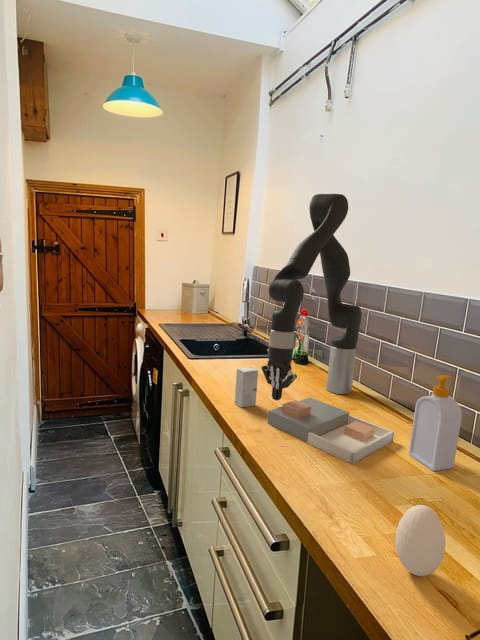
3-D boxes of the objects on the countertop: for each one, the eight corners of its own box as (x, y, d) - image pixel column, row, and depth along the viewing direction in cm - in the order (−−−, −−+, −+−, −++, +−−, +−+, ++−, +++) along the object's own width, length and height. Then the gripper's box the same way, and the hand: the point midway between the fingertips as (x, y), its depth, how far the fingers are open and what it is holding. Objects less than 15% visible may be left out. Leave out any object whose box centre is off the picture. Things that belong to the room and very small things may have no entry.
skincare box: (241, 408, 134) (243, 372, 132) (233, 403, 137) (236, 368, 135) (256, 405, 137) (259, 370, 135) (248, 400, 141) (251, 366, 139)
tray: (349, 424, 126) (350, 415, 126) (392, 441, 116) (394, 431, 116) (307, 443, 112) (308, 432, 111) (352, 464, 102) (353, 453, 101)
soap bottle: (455, 468, 103) (470, 381, 99) (434, 472, 101) (448, 382, 97) (428, 451, 112) (441, 370, 108) (408, 454, 109) (420, 371, 105)
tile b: (294, 407, 126) (295, 400, 126) (310, 414, 122) (311, 406, 121) (281, 412, 122) (282, 404, 122) (297, 418, 118) (298, 410, 117)
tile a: (374, 428, 117) (373, 436, 118) (355, 421, 121) (355, 429, 122) (364, 433, 113) (363, 442, 114) (345, 426, 117) (344, 434, 118)
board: (308, 408, 137) (309, 397, 136) (348, 424, 126) (349, 412, 125) (267, 423, 123) (268, 410, 122) (307, 442, 112) (309, 428, 112)
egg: (431, 597, 63) (442, 529, 61) (384, 571, 68) (393, 506, 66) (445, 571, 69) (456, 507, 67) (401, 548, 73) (410, 488, 71)
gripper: (306, 348, 122) (300, 403, 125) (273, 339, 132) (268, 391, 134) (290, 351, 117) (284, 408, 120) (256, 341, 126) (252, 395, 129)
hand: (276, 399), depth 127 cm, fingers closed
